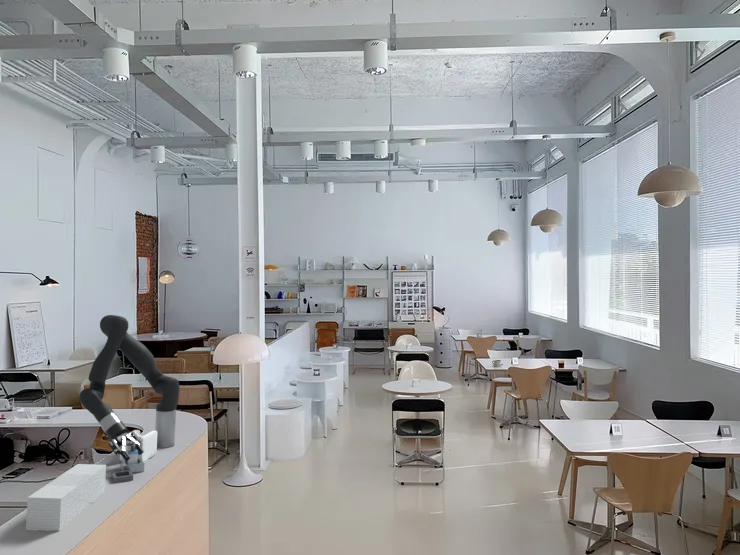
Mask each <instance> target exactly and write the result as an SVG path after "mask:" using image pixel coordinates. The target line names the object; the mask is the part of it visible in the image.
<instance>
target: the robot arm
mask: <svg viewBox="0 0 740 555" xmlns="http://www.w3.org/2000/svg"><path fill="white" fill-rule="evenodd" d="M99 328H100V330H101V332H102V333H103V334H104V335H105V337H107V339H106V343H105V344H104V346H103V348H102V350H101V351H100V352H99V354H98V355H97V356H96V358H95V359H94V361H93V363H92V366H91V369H90V371H89V374H88V381H89V383H90V384H89V387H88V388H84V389H82V390H81V391H80V393H79V397H78V398H79V399H78V400H79V401H80V403H81V405H82V406H83V407H84V408H85V409H86V410H87V411H88V412H89V413H90V414H92V416H93V417H94V418H95V420H96V421H97V422H98V424H99V425H100V427H101V429H102V430H103V432H104V433H105V434H106V436H107V437H108V439H109V440H110V442H108V446H109V448H111V450H112V451H113V453H114V454H115V456H116V455H119V456H120V455H122V457H123V458H124V459H125V460H126V461H128V460H129V459H130V458H131V457H130V456H129V454H128V453H127V452H126V451H125V446H131V445H133V443H135V449H137V451H138V454H139V455H141V454H142V453H143V452H144V451H143V449H142V448H141V446H140V445H139V444H140V443H141V440H140V439H139V438H138V436H137V435H136V434H135V433H134V432H132V431H131V432H132V433H130V432H128V427H127V426H126V425H125V424H124V423H123V421H122V420H121V418H120V417H119V416H118V415H117V413H116V412H114V410H113V409H112V408H111V406H110V405H109V404H108V403H105V402H104V401H103V398H104V395H105V389H106V381H107V377H108V375H109V372H110V369H111V366H112V363H113V360H114V358H115V356H116V354H117V352H118V350H120V351H121V352H122V354H123V355H125V357H126V358H127V359H128V361H129V362H130V363H131V364H132V365H133V367H134V368H136V369H137V371H138V372H139V373H140V374H141V375H142V376H143V377H144V378H145V379H146V380H147V382H148V384H149V385H150V386H151V388H152V389H153V391H154V392H155V393H156V394H157V395H160V396H162V397H161V402H157V404H156V405H155V427H154V431H157V448H163V449H164V448H171V447H174V446H175V444H176V443H175V441H176V440H175V439H176V423H177V422H176V418H177V406H178V404H179V397H180V383H179V382H180V381H179V380H178V379H177V378H175V377H173V376H167V375H165V374H164V373H163V372H162V371H161V370H160V369H159V368H158V367H157V364H156V360H155V357H154V355H153V353H152V352H151V351H150V350H149V349H148V348H147V346H145V344H143V343H142V342H140V341H139V340H138V339H136V338H135V337H133V336H132V335H131V334H130V333H128V331H129V321H128V320H127V318H126V317H124V316H120V315H116V314H109V315H108V314H107V315H104V316H103V317H102V318H101V319H100V321H99ZM128 433H130V434H128ZM136 439H137V441H138V442H137V441H136ZM131 441H132V442H131Z"/></svg>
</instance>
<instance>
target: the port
mask: <svg viewBox="0 0 740 555" xmlns="http://www.w3.org/2000/svg"><path fill="white" fill-rule="evenodd" d="M126 470H131V472H132V474H136V473H143V472H145V462H143V460H142V458H138V463H136V464H128V465H127V461H126V460H121V461H120V471H126Z"/></svg>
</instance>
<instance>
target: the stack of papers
mask: <svg viewBox="0 0 740 555" xmlns="http://www.w3.org/2000/svg"><path fill="white" fill-rule="evenodd" d="M106 472H107V464H93V463H92V464H91V463H90V464H89V463H78V464H75V465H74V466H73V467H71V468H70V469H68V470H66V471H65V472H64V473H62V474H61V475H59V476H57V477H56V478H55V479H53V480H51V481H50V482H49V483H47V484H46V485H44V486H43V487H41V488H39V489H38V490H36V491H35V492H34V493H32V494H31V495H29V496H27V498H26V502H27V503H26V520H25V521H26V522H25V523H26V524H25V530H26V531H37V530H58V531H57V532H60V531H62V530H63V529H64V528H65V527H66V526H68V525H69V524H70V523H71V522H72V521H73V520H75V519H76V518H77V517H78V516H79V515H81V514H82V513H83V512H84V511H85V510H87V509H88V506H89V505H90V504H91V503H92V504H93V503H94V501H95V500H96V499H97V498H99V497H100V496H101V495H102V494H103V493H105V492H106V477H107V476H106V475H107V473H106ZM92 504H91V505H92ZM91 505H90V506H91ZM90 506H89V507H90ZM84 509H85V510H84ZM83 510H84V511H83ZM82 511H83V512H82ZM81 512H82V513H81ZM78 514H79V515H78ZM77 515H78V516H77ZM76 516H77V517H76ZM75 517H76V518H75ZM74 518H75V519H74ZM72 519H73V520H72ZM71 520H72V521H71ZM70 521H71V522H70ZM69 522H70V523H69ZM68 523H69V524H68ZM65 525H66V526H65ZM64 526H65V527H64ZM63 527H64V528H63ZM62 528H63V529H62ZM61 529H62V530H61Z"/></svg>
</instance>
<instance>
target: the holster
mask: <svg viewBox="0 0 740 555" xmlns="http://www.w3.org/2000/svg"><path fill="white" fill-rule="evenodd" d="M133 474H134V473H132V472H131V470H126V471H122V470H120V471H112V472H111V479H112V482H113V483H114V484H117V483H124V482H132V481H134V475H133Z"/></svg>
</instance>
